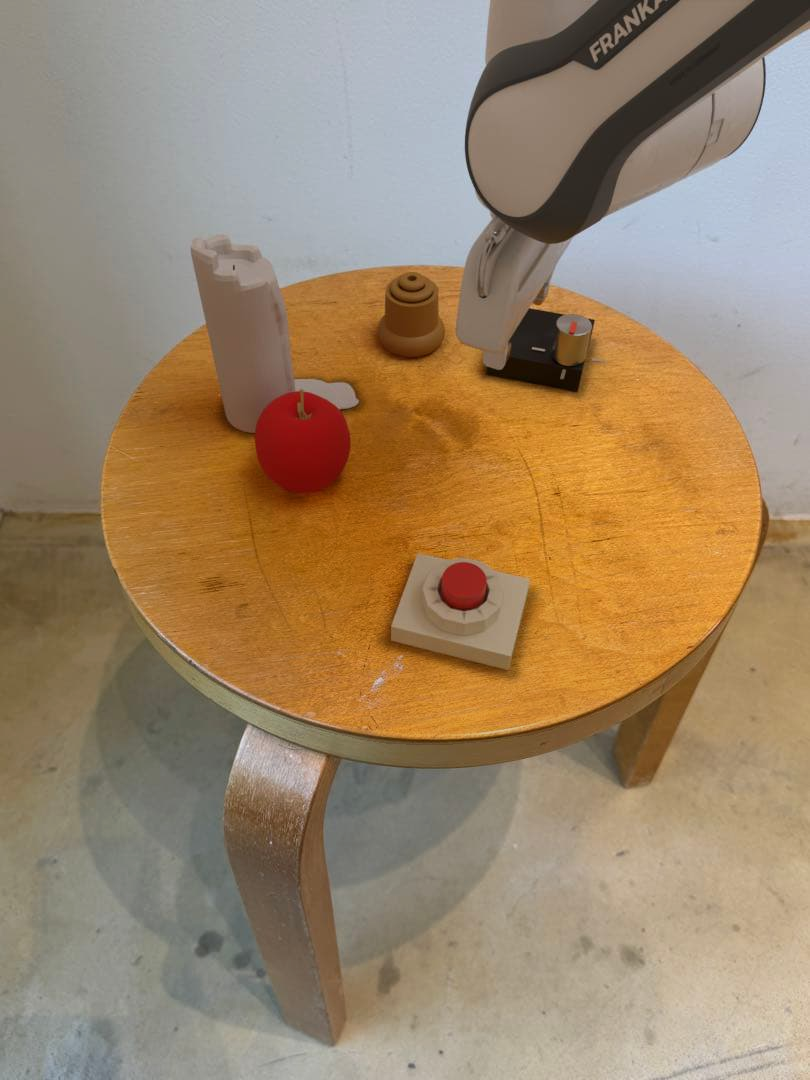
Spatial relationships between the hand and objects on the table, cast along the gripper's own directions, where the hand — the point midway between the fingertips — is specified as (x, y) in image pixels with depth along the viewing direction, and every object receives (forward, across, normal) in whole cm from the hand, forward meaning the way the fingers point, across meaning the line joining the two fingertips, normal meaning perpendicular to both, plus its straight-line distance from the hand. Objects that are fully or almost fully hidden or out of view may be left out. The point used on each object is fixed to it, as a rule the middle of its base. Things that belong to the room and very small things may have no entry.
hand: (516, 330), depth 71 cm
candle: (+17, -1, +23) cm, 28 cm away
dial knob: (+13, +15, -2) cm, 20 cm away
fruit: (+17, -9, +16) cm, 25 cm away
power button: (+13, -18, -4) cm, 22 cm away
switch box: (+16, -18, -4) cm, 25 cm away
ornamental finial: (+17, +14, +16) cm, 27 cm away
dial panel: (+16, +17, +1) cm, 23 cm away
